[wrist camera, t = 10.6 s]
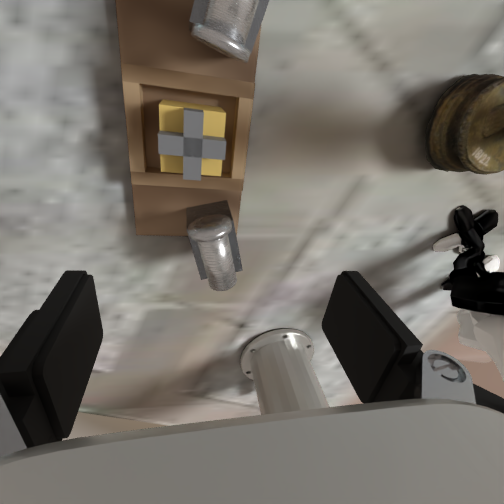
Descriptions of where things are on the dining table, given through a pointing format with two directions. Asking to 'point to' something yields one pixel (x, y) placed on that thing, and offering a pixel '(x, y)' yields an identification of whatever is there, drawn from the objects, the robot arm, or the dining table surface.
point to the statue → (469, 126)
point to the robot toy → (476, 284)
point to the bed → (183, 90)
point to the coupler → (191, 139)
